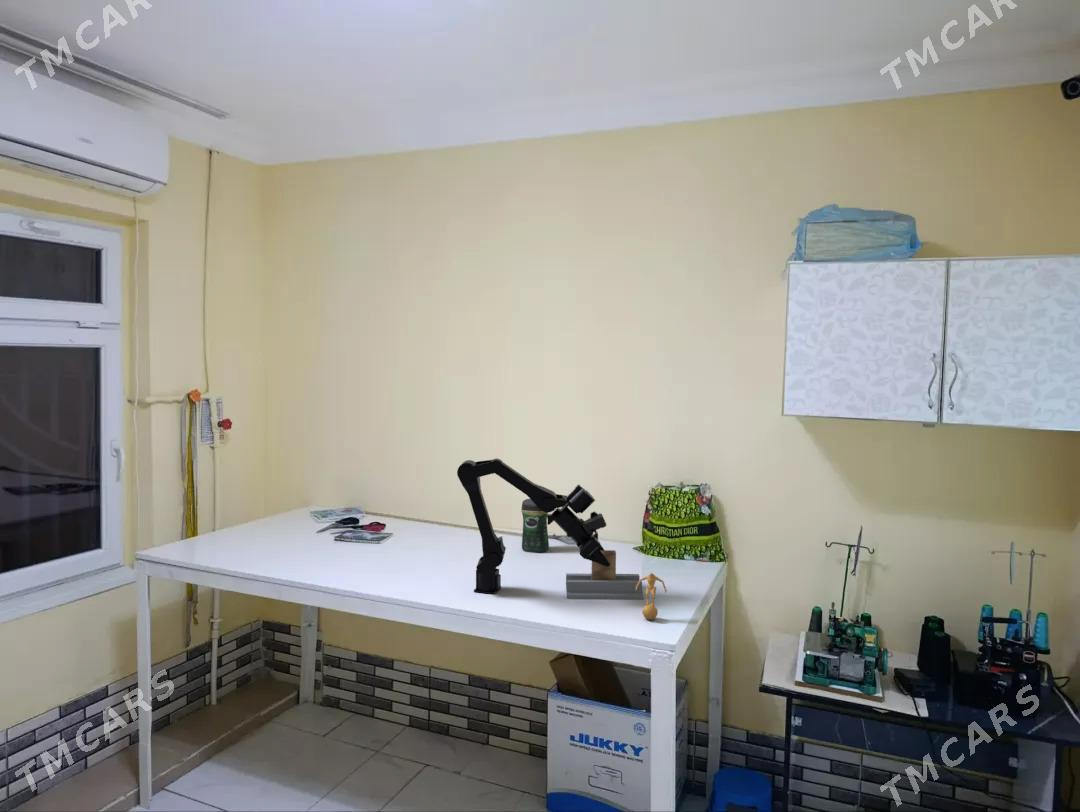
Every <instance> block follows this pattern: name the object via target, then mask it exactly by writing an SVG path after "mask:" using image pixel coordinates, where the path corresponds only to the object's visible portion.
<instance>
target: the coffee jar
mask: <svg viewBox="0 0 1080 812" xmlns="http://www.w3.org/2000/svg"><path fill="white" fill-rule="evenodd" d="M520 512H521V514H522V520H523V521H522V536H521V550H522V551H524V550H525V551H524V552H529V551H532V553H542V552H547V551H548V549H549V548H550V543H549V533H548V524H547V523H548V519H547V514H549V513H546V512H543V511H542V510H541V509H539V508H538V507H537V506H536V505H535V504H534V503H533V501H532V500H531V499H530V498H526V499H524V500H522V503H521V511H520ZM546 550H547V551H546Z"/></svg>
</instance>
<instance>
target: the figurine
mask: <svg viewBox="0 0 1080 812" xmlns="http://www.w3.org/2000/svg"><path fill="white" fill-rule="evenodd" d="M646 580H647V582H648V583H647V584H648V585H646V586H645V590H646V591H645V596H646V604H645V605H644V606H643V608H642V610H641V611H642V612H641V613H642V615H643V618H644V619H646V620H649V621H652V620H655V619H656V618H657V616H658V613H659V612H658V609H657V607H656V606H655V599H656V593H657V586H655V584H656V581H659V582H660V583H662V587H663V589H664V593H665V594H667V591H668V590H667V587H666V585H665V582H664V580H663V579H661V578H659V577H658V576H656V575H655V574H654V573H652V572H650V573H649V575H646V576H644V577H641V578H640V580H639V582H638V584H637V586H636V589H635V590H637V587H638V585H639V584H640V582H641V581H642V582H643V581H646ZM650 593H651V594H652V596H651V597H652V603H650V596H649V594H650Z"/></svg>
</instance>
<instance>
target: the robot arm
mask: <svg viewBox="0 0 1080 812" xmlns="http://www.w3.org/2000/svg"><path fill="white" fill-rule="evenodd" d="M456 471H457V472H456V474H457V477H458V478H457V479H459V481H460V484H461V486H462V487H463V489H464V490H465V492H466V493H467V495H468V499H469V502H470V504H471V508H472V511H473V515H474V518H475V520H476V524H477V527H478V531H479V534H480V536H481V547H482V550H481V551H482V556H481V557H479V559H478V562H477V565H476V570H475V588H474V589H473V592H474V593H482V594H483V593H484V594H490V595H492V594H493V595H494V594H496V593H497V592H498V591H499V590H501V589H502V585H501V581H502V580H501V577H502V575H501V574H500V568H498V567H499V566H501V564H502V563H503V561H504V557H505V553H506V549H507V547H506V546H505V545H504V542H503V541H504V540H503V536H499V537H498V536H497V534H496V533H495V531H494V528H493V524H492V521H491V520H492V519H491V517H490V515H489V510H488V508H487V505H486V502H485V501H486V500H485V499H484V495H483V492H482V489H481V477H485V476H489V475H493V474H495V475H497V476H498V477H500V478H501V479H503V481H505V482H506V483H508V484H510V485H511V486H513V487H515V488H516V489H517V490H518V491H520V492H522V493H523V494H524V495H526V496H527V497H528V499H531V500H532V501H533V503H534V504H535V505H536V506H537V507H538V508H539V509H541V510H542V511H543V512H546V513H548V514H547V526H548V525H549V526H550V525H551V524H552V523H553V522H554V523H555V524H556V525H558V527H560V528H561V530H562V531H564V533H566V536H567V537H568V538H570V539H571V540H573V542H574V543H575V544H576V546H577V547H578V548H579V549H578V553H579V556H580V557H582V558H583V560H588V561H591V562H592V561H594V562H596V563H599V564H601V565H604V566H607V567H608V566H609V565H610V563H609V562H608V560H607V559H606V557H605V556H604V554H603V553H602V552H601V550H605V548H604V547H603V546H602V544H601V542H600V541H599V532H598V531H597V530H600V529H603V528H605V527H607V526H608V525H607V522H606V520H605V517H604V516H603V514H602V513H601V512H600V513H598V512H596V511H592V512H590V513H589V514H590V516H589V518H587V519H586V520H584V519H583V518H581V517H578V516H577V515H576V514H583V513H584V512H585V511H587V510H588V508H589V507H590V506H592V504H593V503H595V501H596V499H595V498H594V496H593V495H592V494H591V493H590V492H589V491H588V490H586V489H585V488H583V487H582V486H581V485H580V484H577V485H576V486H575V487H574V489H573V490H571V492H570V493H568V495H563V494H557V493H556V492H555V491H553V490H551V489H549V488H547V487H545V486H541V485H538V484H536V483H534V482H533V481H531V480H530V479H529V478H527V477H526V476H524V475H522V474H521V473H519V472H518V471H516V470H515V469H513V467H511V466H510V465H508V464H506V463H505V462H503V460H501V459H500V458H497V457H496V458H492V459H487V460H479V461H474V460H471V459H468V460H464V461H463V462H462V463H461V464H460V465H459V467H458V468H457V470H456Z"/></svg>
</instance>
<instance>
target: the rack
mask: <svg viewBox="0 0 1080 812" xmlns="http://www.w3.org/2000/svg"><path fill="white" fill-rule="evenodd" d="M640 579H641V578H640V574H639V573H616V580H592V573H577V572H576V573H574V572H573V573H571V572H570V573H565V592H566V595H565V596H566V600H567V599H575V600H576V599H577V600H578V599H583V600H586V599H587V600H592V599H593V600H644V594H643V580H642V581H641V582H640V584H639V585H638V587H637V590H635V589H636V586H637V584H638V582H639V580H640Z"/></svg>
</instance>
